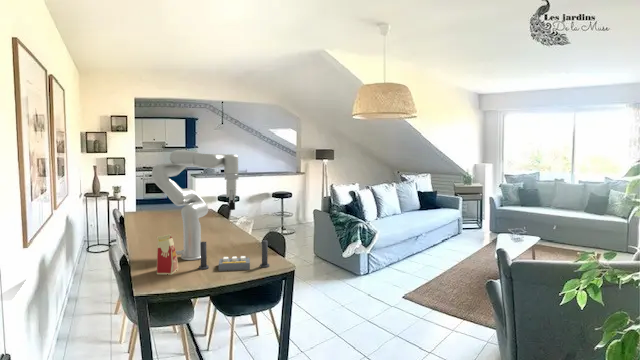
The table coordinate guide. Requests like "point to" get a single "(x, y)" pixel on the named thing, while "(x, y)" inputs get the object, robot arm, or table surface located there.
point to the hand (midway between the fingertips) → (232, 209)
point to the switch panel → (234, 263)
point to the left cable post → (203, 256)
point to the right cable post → (264, 254)
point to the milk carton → (166, 255)
